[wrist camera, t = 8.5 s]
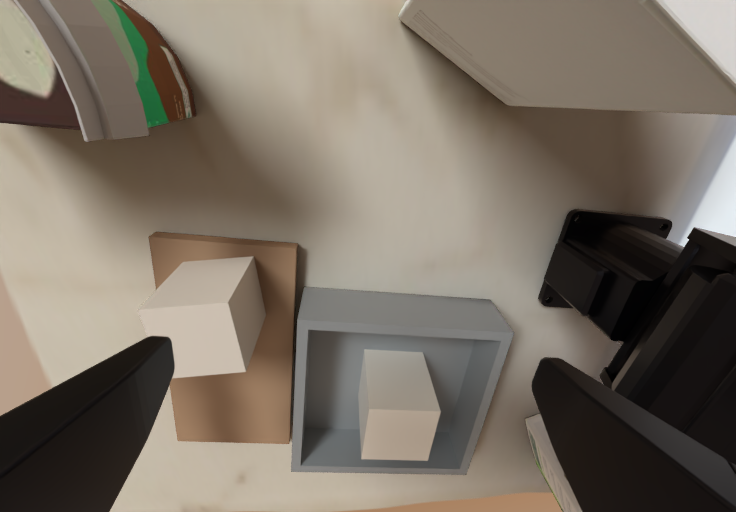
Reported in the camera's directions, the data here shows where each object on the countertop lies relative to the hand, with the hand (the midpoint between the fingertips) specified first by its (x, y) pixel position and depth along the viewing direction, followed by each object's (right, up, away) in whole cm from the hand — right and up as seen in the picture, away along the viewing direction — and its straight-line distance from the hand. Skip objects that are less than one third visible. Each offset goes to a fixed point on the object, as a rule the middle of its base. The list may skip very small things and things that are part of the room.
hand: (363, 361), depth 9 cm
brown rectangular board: (-9, -4, +15) cm, 18 cm away
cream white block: (-8, +1, +13) cm, 15 cm away
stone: (+2, -6, +16) cm, 17 cm away
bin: (+1, -5, +17) cm, 18 cm away
